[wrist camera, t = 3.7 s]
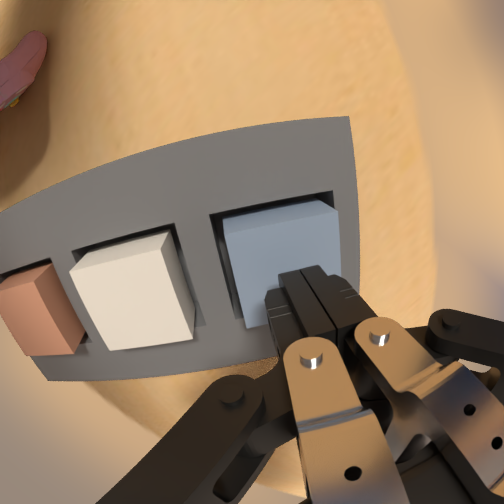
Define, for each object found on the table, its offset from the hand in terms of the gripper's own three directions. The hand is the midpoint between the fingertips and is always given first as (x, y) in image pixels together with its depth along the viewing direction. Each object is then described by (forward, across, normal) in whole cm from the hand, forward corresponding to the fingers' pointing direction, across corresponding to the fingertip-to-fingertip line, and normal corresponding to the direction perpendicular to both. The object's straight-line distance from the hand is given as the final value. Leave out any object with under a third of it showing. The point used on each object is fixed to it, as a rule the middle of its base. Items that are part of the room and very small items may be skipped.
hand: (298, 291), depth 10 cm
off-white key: (+4, +7, 0) cm, 8 cm away
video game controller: (+7, +16, -14) cm, 22 cm away
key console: (+7, +7, 0) cm, 10 cm away
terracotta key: (+4, +14, 0) cm, 14 cm away
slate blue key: (+4, 0, 0) cm, 4 cm away
